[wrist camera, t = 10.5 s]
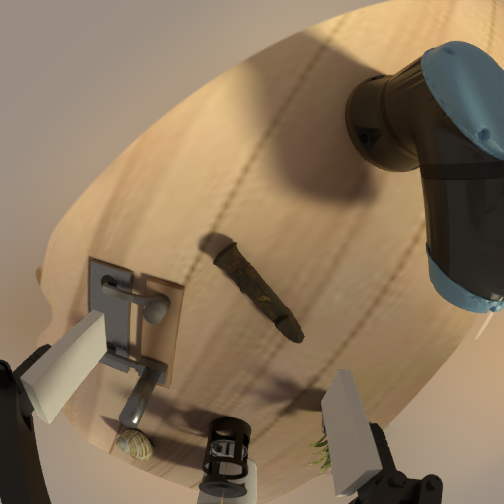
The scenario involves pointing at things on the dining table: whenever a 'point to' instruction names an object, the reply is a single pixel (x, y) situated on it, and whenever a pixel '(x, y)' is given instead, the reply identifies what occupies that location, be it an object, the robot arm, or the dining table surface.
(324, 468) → the house plant
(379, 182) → the dining table surface
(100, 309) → the bolt plate
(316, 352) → the dining table surface
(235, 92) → the dining table surface
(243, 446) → the french press
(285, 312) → the hand tool
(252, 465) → the utensil holder
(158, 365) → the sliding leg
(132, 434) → the seashell
